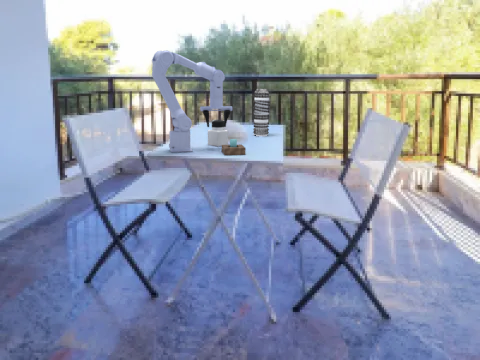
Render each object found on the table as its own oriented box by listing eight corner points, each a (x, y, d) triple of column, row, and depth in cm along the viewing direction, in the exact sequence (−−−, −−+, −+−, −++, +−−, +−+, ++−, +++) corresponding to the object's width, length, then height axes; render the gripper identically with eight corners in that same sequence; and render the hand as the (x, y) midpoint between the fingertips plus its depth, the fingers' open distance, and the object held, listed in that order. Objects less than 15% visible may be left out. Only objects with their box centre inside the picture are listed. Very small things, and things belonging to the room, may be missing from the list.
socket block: (224, 155, 200) (224, 148, 200) (221, 151, 209) (221, 144, 208) (245, 154, 202) (245, 147, 201) (241, 151, 211) (241, 144, 210)
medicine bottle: (228, 144, 226) (228, 120, 224) (217, 146, 221) (217, 121, 218) (218, 143, 231) (218, 118, 228) (207, 144, 226) (207, 119, 223)
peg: (230, 153, 204) (230, 140, 202) (229, 152, 207) (229, 139, 205) (237, 153, 205) (237, 139, 203) (235, 152, 207) (235, 138, 206)
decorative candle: (251, 136, 254) (252, 89, 248) (253, 133, 263) (254, 88, 257) (268, 136, 253) (269, 89, 247) (270, 134, 262) (271, 88, 256)
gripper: (201, 97, 207) (201, 128, 210) (233, 97, 209) (233, 127, 212) (199, 96, 213) (199, 126, 216) (231, 96, 216) (230, 125, 219)
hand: (216, 126), depth 215 cm, fingers open, 7 cm apart
